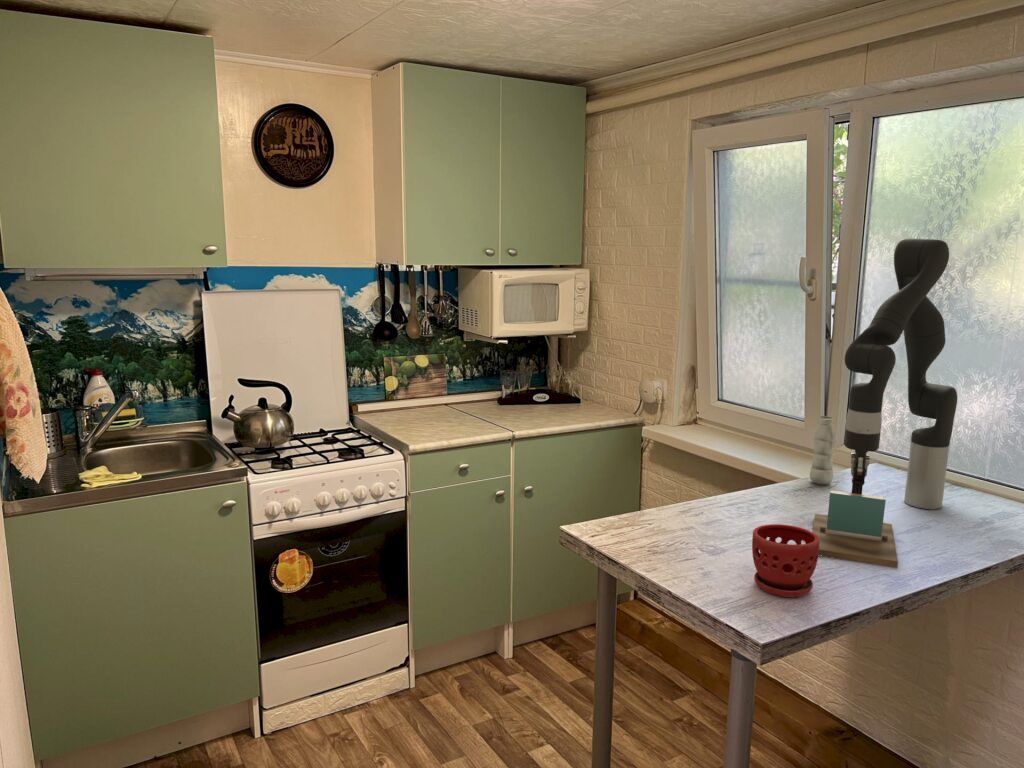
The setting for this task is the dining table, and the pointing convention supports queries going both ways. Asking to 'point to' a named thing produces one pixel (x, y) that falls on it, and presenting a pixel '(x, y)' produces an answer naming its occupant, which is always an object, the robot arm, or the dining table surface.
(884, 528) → the board
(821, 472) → the plastic bottle
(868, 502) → the tile
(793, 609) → the dining table surface
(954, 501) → the dining table surface
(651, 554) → the dining table surface
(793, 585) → the plant pot
